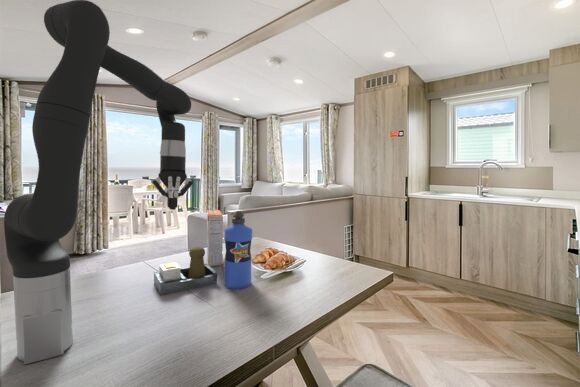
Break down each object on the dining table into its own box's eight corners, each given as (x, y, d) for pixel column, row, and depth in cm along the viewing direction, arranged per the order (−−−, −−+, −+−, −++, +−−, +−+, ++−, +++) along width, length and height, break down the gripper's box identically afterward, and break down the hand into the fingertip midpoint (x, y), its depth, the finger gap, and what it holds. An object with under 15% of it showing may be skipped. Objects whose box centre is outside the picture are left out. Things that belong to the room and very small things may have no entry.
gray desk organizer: (216, 283, 102) (217, 262, 101) (160, 295, 92) (160, 271, 91) (206, 274, 110) (206, 254, 110) (154, 284, 100) (153, 262, 100)
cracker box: (206, 256, 132) (206, 209, 130) (220, 255, 134) (220, 209, 132) (207, 267, 119) (207, 214, 117) (222, 265, 120) (223, 214, 119)
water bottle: (254, 287, 100) (255, 213, 97) (226, 291, 96) (226, 214, 94) (247, 277, 108) (248, 209, 106) (221, 280, 105) (222, 210, 103)
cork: (209, 276, 106) (209, 246, 105) (201, 282, 100) (201, 250, 99) (193, 275, 107) (192, 244, 106) (184, 281, 101) (184, 249, 100)
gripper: (152, 153, 89) (152, 211, 90) (197, 156, 96) (196, 210, 97) (148, 154, 95) (148, 208, 96) (190, 157, 102) (189, 207, 103)
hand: (172, 209), depth 96 cm, fingers closed
